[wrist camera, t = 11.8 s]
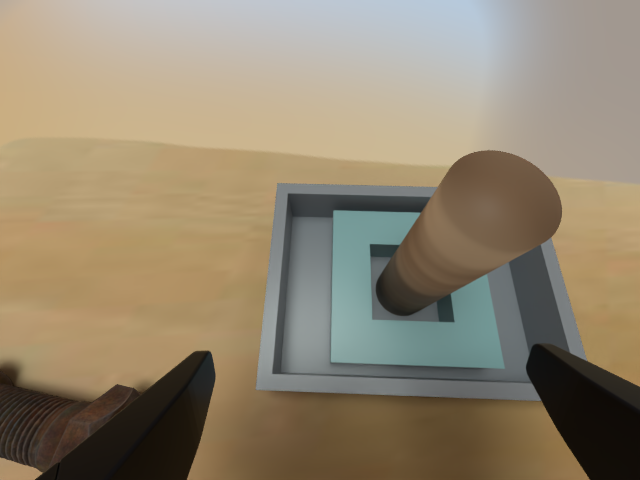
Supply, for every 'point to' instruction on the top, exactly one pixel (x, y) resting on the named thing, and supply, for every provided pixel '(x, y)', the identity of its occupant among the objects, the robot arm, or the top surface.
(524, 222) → the peg
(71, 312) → the top surface
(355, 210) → the rim box
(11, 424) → the bolt
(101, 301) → the top surface
